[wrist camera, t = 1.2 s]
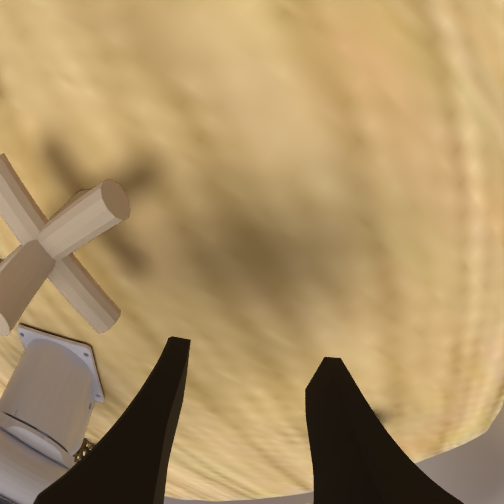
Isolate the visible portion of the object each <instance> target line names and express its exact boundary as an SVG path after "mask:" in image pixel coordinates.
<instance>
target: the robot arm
mask: <svg viewBox="0 0 504 504" xmlns="http://www.w3.org/2000/svg"><path fill="white" fill-rule="evenodd" d="M17 331H18V334H19V336H20V339H21V341H22V343H23V346H24V348H25V351H24V353H23V355H22V357H21V359H20V361H19V363H18V364H17V366H16V368H15V370H14V372H13V374H12V376H11V378H10V380H9V382H8V384H7V386H6V388H5V390H4V393H3V395H2V397H1V399H0V496H2V497H3V498H2V497H0V504H13V503H14V504H163V502H164V494H165V485H166V476H167V468H168V462H169V457H170V452H171V448H172V444H173V440H174V436H175V432H176V427H177V423H178V419H179V415H180V411H181V407H182V403H183V397H184V390H185V383H186V376H187V367H188V358H189V349H190V341H191V340H189V339H183V338H178V337H170V338H168V341H167V343H166V346H165V348H164V350H163V352H162V354H161V356H160V358H159V360H158V362H157V363H156V365H155V367H154V369H153V370H152V372H151V374H150V375H149V377H148V378H147V380H146V382H145V383H144V385H143V386H142V388H141V389H140V391H139V392H138V394H137V395H136V397H135V398H134V399H133V401H132V402H131V403H130V405H129V406H128V408H127V409H126V410H125V412H124V413H123V414H122V415H121V417H120V418H119V419H118V420H117V422H116V423H115V424H114V425H113V426H112V428H111V429H110V430H109V431H108V432H107V433H106V434H105V436H104V437H103V438H102V439H101V440H100V441H99V442H98V443H97V444H96V445H95V446H94V447H93V448H92V449H91V450H90V451H89V452H88V453H87V454H86V455H85V456H84V457H83V458H82V459H81V460H80V461H79V462H78V463H76V464H75V465H74V466H73V463H74V460H75V457H73V456H72V455H74V454H75V453H76V452H77V451H78V450H79V449H80V447H81V445H82V442H83V439H84V436H85V432H86V429H87V425H88V422H89V419H90V416H91V413H92V409H93V406H94V403H95V401H96V402H100V403H103V402H104V400H105V399H104V395H103V392H102V388H101V384H100V381H99V377H98V373H97V369H96V365H95V361H94V357H93V353H92V349H91V347H90V346H88V345H86V344H82V343H79V342H75V341H71V340H68V339H65V338H61V337H58V336H54V335H51V334H48V333H45V332H42V331H39V330H35V329H32V328H29V327H26V326H23V325H18V326H17ZM305 405H306V421H307V428H308V436H309V443H310V450H311V457H312V464H313V475H314V504H464V503H462V502H461V501H459V500H458V499H457V498H455V497H454V496H452V495H450V494H449V493H448V492H446V491H445V490H444V489H442V488H441V487H440V486H438V485H437V484H436V483H435V482H434V481H432V480H431V479H430V478H429V477H428V476H427V475H426V474H424V472H423V471H421V470H420V469H419V468H418V467H417V466H416V465H415V464H414V463H413V462H412V461H411V460H410V459H409V457H408V456H407V455H406V454H405V453H404V452H403V451H402V450H401V448H400V447H399V446H398V445H397V444H396V442H395V441H394V440H393V439H392V437H391V436H390V435H389V434H388V432H387V431H386V429H385V428H384V427H383V425H382V424H381V422H380V421H379V419H378V418H377V417H376V415H375V414H374V412H373V410H372V409H371V407H370V406H369V404H368V403H367V401H366V400H365V398H364V396H363V395H362V393H361V391H360V390H359V388H358V386H357V385H356V383H355V381H354V380H353V378H352V376H351V375H350V373H349V371H348V370H347V368H346V366H345V365H344V363H343V361H342V360H341V358H332V357H324V359H323V361H322V362H321V364H320V366H319V367H318V369H317V371H316V373H315V374H314V376H313V378H312V379H311V381H310V383H309V384H308V386H307V388H306V389H305ZM4 498H5V499H4ZM6 499H7V500H9V501H11V502H12V503H11V502H9V501H7V500H6Z"/></svg>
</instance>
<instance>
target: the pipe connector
mask: <svg viewBox="0 0 504 504" xmlns="http://www.w3.org/2000/svg"><path fill="white" fill-rule="evenodd" d="M129 214H130V205H129V200H128V198H127V196H126V194H125V192H124V190H123V189H122V188H121V187H120V186H119V185H118V184H117V183H116V182H114V181H112V180H110V179H108V180H105V181H103V182H101V183H100V184H98V185H97V186H95V187H94V188H93V189H91V190H81V191H79V192H78V193H77V194H76V195H75V196H73V197H72V198H71V199H70V200H69V201H68V202H67V203H66V204H65V205H64V206H63V207H62V208H61V209H60V210H59V211H57V212H56V213H55V214H54V215H53V216H52V217H51V218H50V219H49V220H47V218H46V217H45V215H44V214H43V213H42V211H41V210H40V208H39V207H38V205H37V204H36V203H35V201H34V200H33V198H32V197H31V195H30V194H29V192H28V191H27V189H26V188H25V186H24V185H23V183H22V181H21V180H20V178H19V177H18V175H17V174H16V172H15V170H14V169H13V167H12V166H11V164H10V162H9V161H8V159H7V157H6V156H5V154H1V155H0V215H1V217H2V218H3V220H4V221H5V222H6V224H7V225H8V227H9V228H10V230H11V231H12V232H13V234H14V235H15V236H16V238H17V239H18V241H19V242H20V243H21V245H20V246H19V247H18V248H17V249H15V250H14V251H13V252H12V253H11V254H10V255H9V256H8V257H7V258H5V259H4V260H3V261H2V262H1V263H0V336H4V337H5V336H8V335H9V334H10V332H11V330H12V329H13V327H14V326H15V324H16V322H17V321H18V319H19V318H20V316H21V315H22V313H23V312H24V310H25V309H26V307H27V306H28V304H29V303H30V301H31V300H32V298H33V297H34V295H35V294H36V292H37V291H38V290H39V288H40V287H41V285H42V284H43V283H44V281H45V280H46V278H47V277H48V279H49V280H50V281H51V282H52V283H53V285H54V286H55V287H56V288H57V289H58V290H59V292H60V293H61V294H62V295H63V296H64V297H65V298H66V300H67V301H68V302H69V303H70V304H71V305H72V306H73V307H74V308H75V309H76V311H77V312H78V313H79V314H80V315H81V316H82V317H83V318H84V319H85V320H86V321H87V322H88V323H89V324H90V325H91V326H92V327H93V328H94V329H95V331H96V332H97V333H104V332H105V331H107V330H109V329H110V328H111V327H112V326H113V325H114V324H115V323H116V322H117V320H118V318H119V317H120V313H121V310H120V309H119V308H118V307H117V305H116V304H115V303H114V302H113V301H112V300H111V299H110V298H109V296H108V295H107V294H106V293H105V292H104V291H103V290H102V288H101V287H100V286H99V285H98V284H97V282H96V281H95V280H94V279H93V278H92V277H91V275H90V274H89V273H88V272H87V270H86V269H85V268H84V267H83V266H82V264H81V263H80V262H79V261H78V259H77V258H76V257H75V256H74V254H73V253H72V252H73V251H75V250H76V249H78V248H80V247H81V246H83V245H84V244H86V243H87V242H89V241H91V240H92V239H94V238H95V237H97V236H99V235H100V234H102V233H104V232H105V231H107V230H108V229H110V228H112V227H113V226H115V225H117V224H118V223H120V222H122V221H123V220H125V219H127V218H129Z"/></svg>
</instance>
